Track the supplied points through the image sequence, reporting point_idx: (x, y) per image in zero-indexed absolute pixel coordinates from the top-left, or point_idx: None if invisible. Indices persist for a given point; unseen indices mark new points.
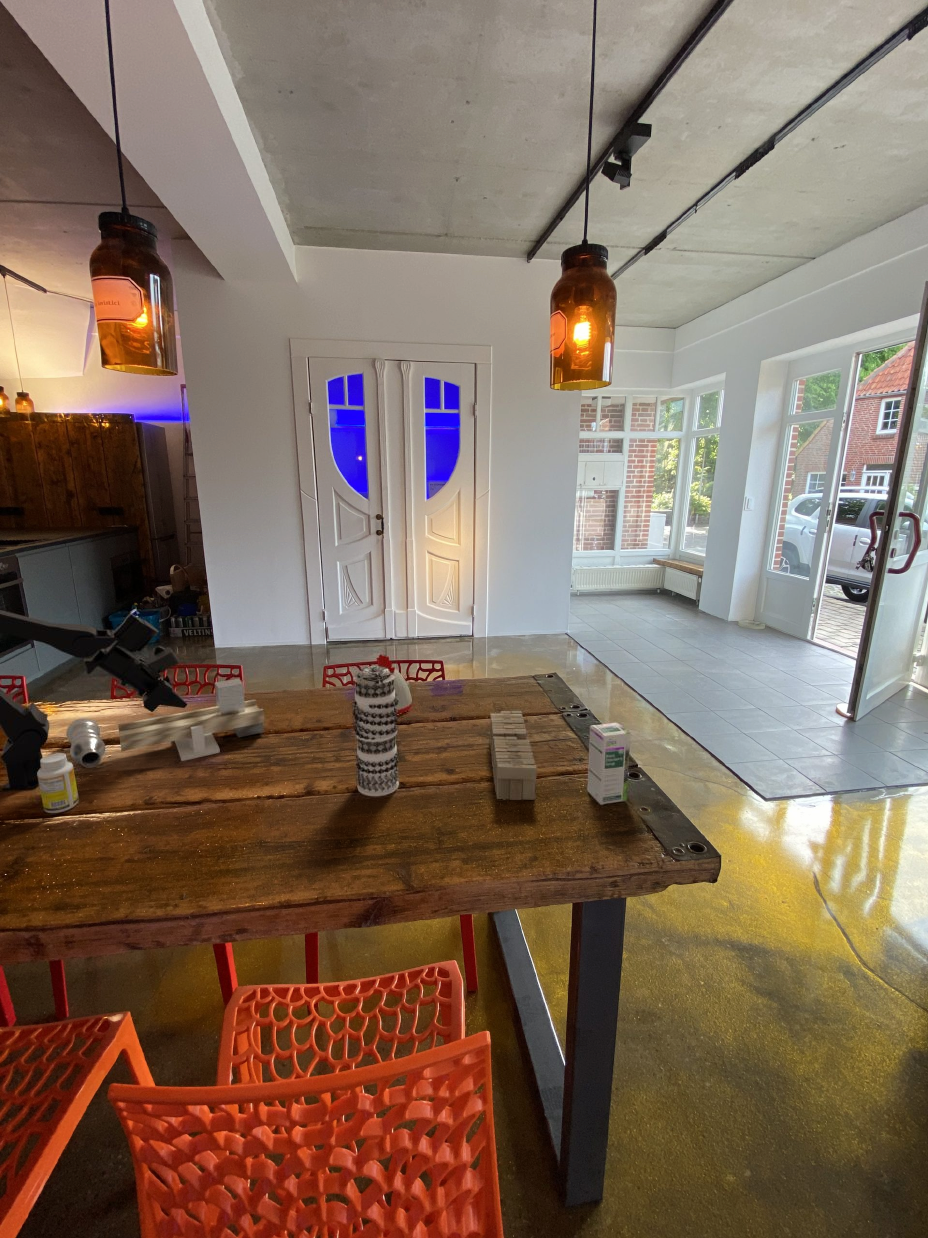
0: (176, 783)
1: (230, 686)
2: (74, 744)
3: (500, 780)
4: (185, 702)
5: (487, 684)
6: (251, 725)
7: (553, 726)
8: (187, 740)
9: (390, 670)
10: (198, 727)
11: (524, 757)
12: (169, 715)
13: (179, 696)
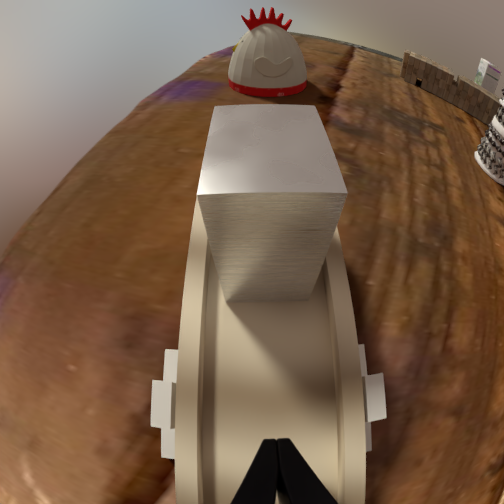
0: (468, 436)
1: (327, 144)
2: None
3: None
4: (291, 449)
5: None
6: None
7: (379, 57)
8: None
9: (282, 25)
10: (384, 390)
11: (490, 93)
12: (183, 496)
13: (273, 495)
